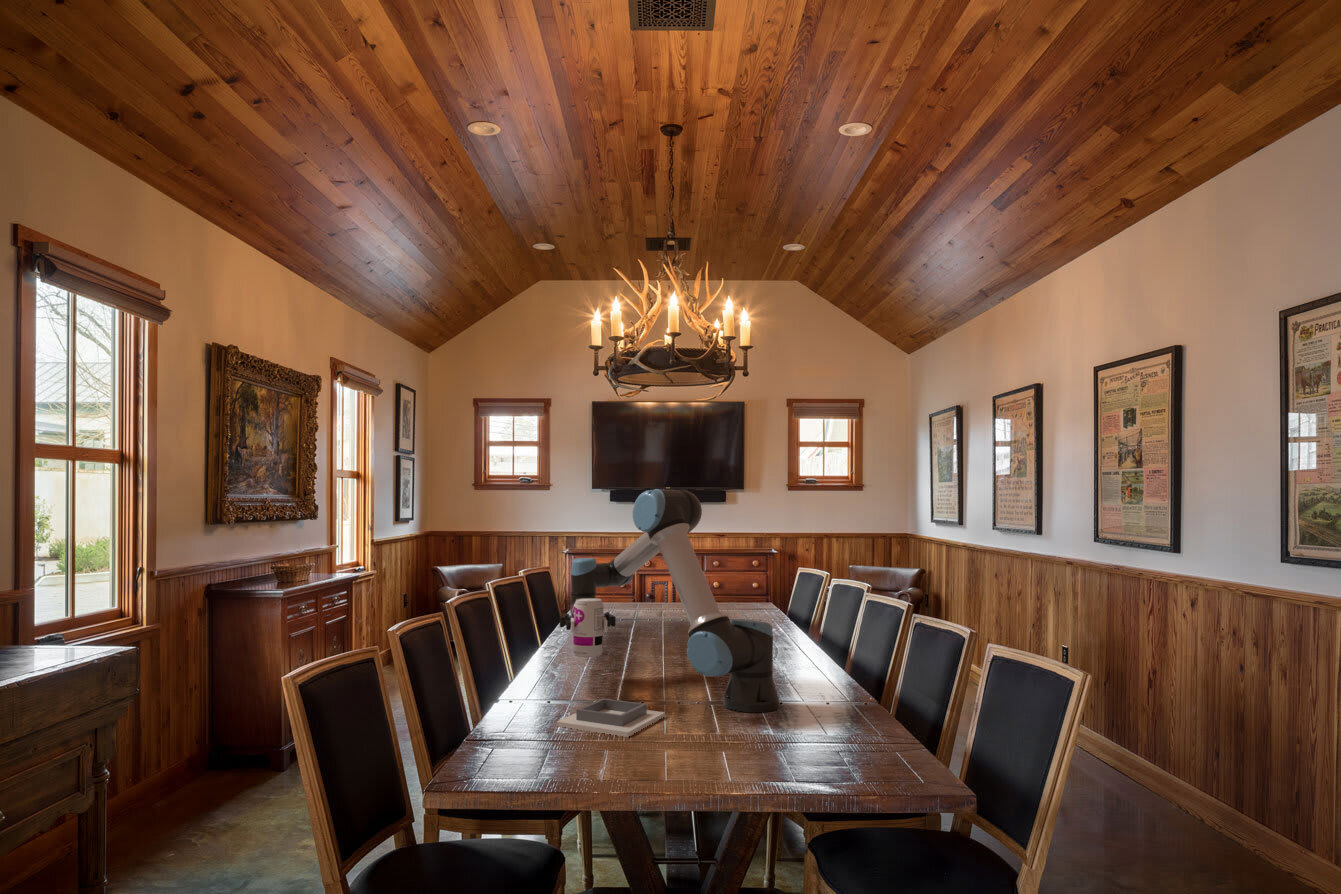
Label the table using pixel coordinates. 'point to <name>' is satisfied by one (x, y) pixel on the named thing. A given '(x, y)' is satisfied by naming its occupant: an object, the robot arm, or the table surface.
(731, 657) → the robot arm
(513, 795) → the table surface
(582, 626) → the supplement can
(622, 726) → the socket board
